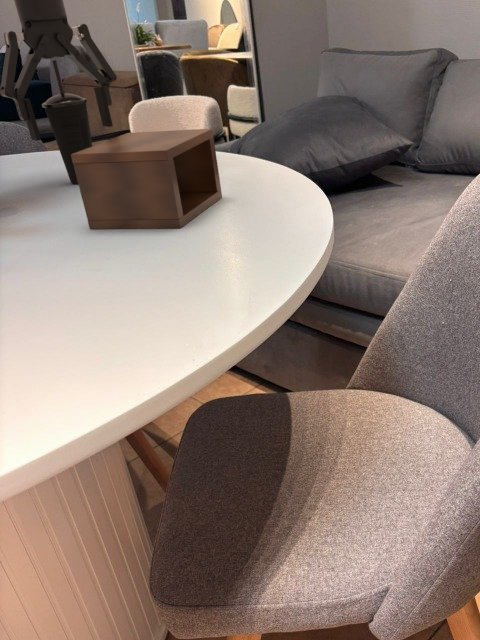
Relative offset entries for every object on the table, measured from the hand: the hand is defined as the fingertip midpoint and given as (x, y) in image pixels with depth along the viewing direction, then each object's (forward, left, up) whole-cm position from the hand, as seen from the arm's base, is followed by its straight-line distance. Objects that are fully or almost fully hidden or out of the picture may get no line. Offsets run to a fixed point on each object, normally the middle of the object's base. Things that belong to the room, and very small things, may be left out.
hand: (73, 133), depth 115 cm
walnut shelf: (+26, -22, -8) cm, 35 cm away
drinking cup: (0, 0, -9) cm, 9 cm away
